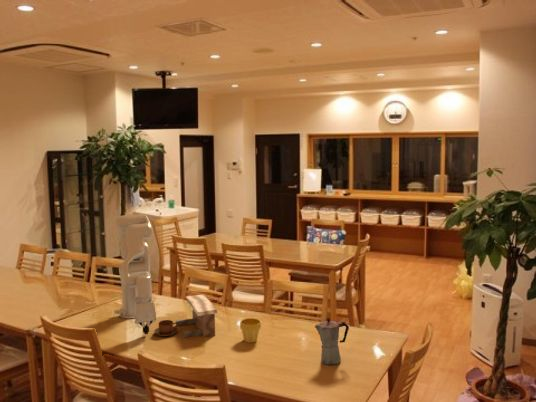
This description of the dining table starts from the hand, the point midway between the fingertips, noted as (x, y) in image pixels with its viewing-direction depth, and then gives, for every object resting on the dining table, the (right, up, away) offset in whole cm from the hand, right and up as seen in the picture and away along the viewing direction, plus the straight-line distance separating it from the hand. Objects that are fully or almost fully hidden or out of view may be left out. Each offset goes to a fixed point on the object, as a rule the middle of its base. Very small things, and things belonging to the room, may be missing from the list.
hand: (146, 333), depth 260 cm
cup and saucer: (+10, -1, +4) cm, 10 cm away
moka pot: (+92, -4, -32) cm, 97 cm away
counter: (+24, 0, +9) cm, 26 cm away
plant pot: (+54, -2, -7) cm, 55 cm away
